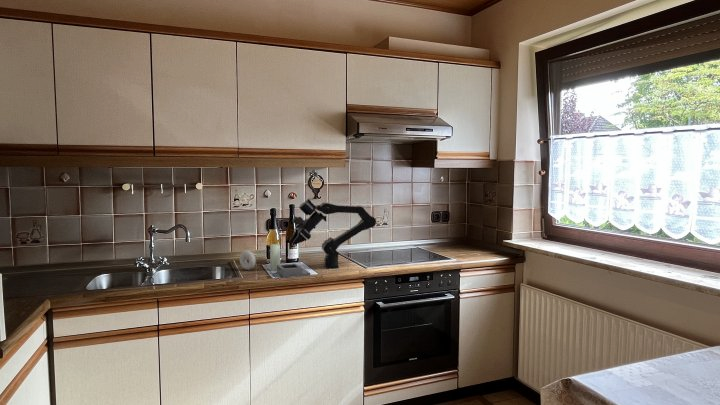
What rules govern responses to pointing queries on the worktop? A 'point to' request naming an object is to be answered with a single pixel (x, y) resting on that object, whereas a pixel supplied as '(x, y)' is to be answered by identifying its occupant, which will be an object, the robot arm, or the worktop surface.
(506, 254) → the worktop surface
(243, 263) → the donut
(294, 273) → the socket
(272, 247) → the pale green cylinder
